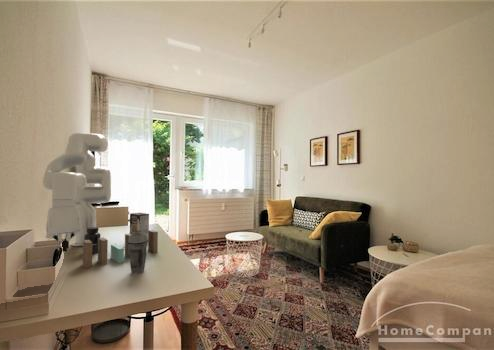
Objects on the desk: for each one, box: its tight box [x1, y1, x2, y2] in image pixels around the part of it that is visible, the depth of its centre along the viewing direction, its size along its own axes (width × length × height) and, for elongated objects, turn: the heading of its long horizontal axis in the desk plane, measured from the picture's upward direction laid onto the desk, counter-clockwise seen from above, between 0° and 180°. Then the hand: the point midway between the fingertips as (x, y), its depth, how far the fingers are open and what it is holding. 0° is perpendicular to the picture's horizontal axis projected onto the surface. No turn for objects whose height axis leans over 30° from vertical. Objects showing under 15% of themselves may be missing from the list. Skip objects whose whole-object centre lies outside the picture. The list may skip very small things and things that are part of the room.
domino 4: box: [147, 229, 159, 254], centre depth 117 cm, size 6×2×10 cm, turn 46°
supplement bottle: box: [84, 226, 101, 255], centre depth 115 cm, size 7×7×12 cm
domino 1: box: [82, 240, 93, 269], centre depth 98 cm, size 6×2×10 cm, turn 46°
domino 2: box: [97, 237, 109, 266], centre depth 102 cm, size 6×2×10 cm, turn 46°
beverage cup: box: [128, 219, 148, 275], centre depth 92 cm, size 7×7×20 cm
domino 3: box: [124, 232, 131, 260], centre depth 110 cm, size 6×2×10 cm, turn 46°
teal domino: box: [110, 243, 125, 264], centre depth 105 cm, size 6×2×10 cm
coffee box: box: [129, 212, 150, 237], centre depth 135 cm, size 9×6×16 cm
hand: (63, 251), depth 92 cm, fingers closed
